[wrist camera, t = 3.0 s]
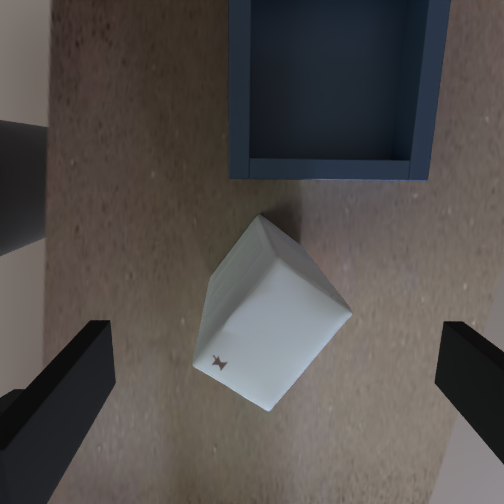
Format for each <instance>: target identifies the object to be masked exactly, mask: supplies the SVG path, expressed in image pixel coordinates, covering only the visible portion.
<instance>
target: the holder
mask: <svg viewBox="0 0 504 504" xmlns="http://www.w3.org/2000/svg"><path fill="white" fill-rule="evenodd" d="M450 3H451V0H228V27H229V179H296V180H382V181H427V180H428V174H429V166H430V158H431V150H432V143H433V135H434V127H435V119H436V112H437V104H438V96H439V88H440V81H441V73H442V65H443V57H444V49H445V42H446V34H447V26H448V18H449V11H450Z"/></svg>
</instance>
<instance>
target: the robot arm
mask: <svg viewBox="0 0 504 504" xmlns="http://www.w3.org/2000/svg"><path fill="white" fill-rule="evenodd" d="M115 383H116V381H115V369H114V357H113V346H112V334H111V323H110V320H90V321H89V322H88V323H87V324H86V325H85V327H84V328H83V329H82V330H81V331H80V332H79V333H78V334H77V335H76V336H75V337H74V338H73V339H72V340H71V341H70V342H69V343H68V345H67V346H66V347H65V348H64V349H63V350H62V351H61V352H60V353H59V354H58V355H57V356H56V357H55V358H54V359H53V360H52V361H51V362H50V364H49V365H48V366H47V367H46V368H45V369H44V370H43V371H42V372H41V373H40V374H39V375H38V376H37V377H36V378H35V379H34V380H33V381H32V383H31V384H30V385H29V386H28V387H27V388H26V389H14V390H12V391H11V392H9V393H8V394H6V395H4V396H2V397H1V398H0V504H47V503H48V501H49V499H50V497H51V496H52V494H53V492H54V490H55V489H56V487H57V485H58V483H59V482H60V480H61V478H62V476H63V475H64V473H65V471H66V469H67V468H68V466H69V464H70V462H71V461H72V459H73V457H74V455H75V454H76V452H77V450H78V448H79V447H80V445H81V443H82V441H83V440H84V438H85V436H86V434H87V433H88V431H89V429H90V427H91V426H92V424H93V422H94V420H95V419H96V417H97V415H98V413H99V412H100V410H101V408H102V406H103V404H104V403H105V401H106V399H107V397H108V396H109V394H110V392H111V390H112V389H113V387H114V385H115ZM435 384H436V385H437V386H438V387H439V389H440V390H441V391H442V392H443V393H444V395H445V396H446V397H447V398H448V399H449V400H450V402H451V403H452V404H453V405H454V406H455V408H456V409H457V410H458V411H459V412H460V413H461V415H462V416H463V417H464V418H465V419H466V420H467V422H468V423H469V424H470V425H471V426H472V427H473V429H474V430H475V431H476V432H477V433H478V435H479V436H480V437H481V438H482V439H483V440H484V442H485V443H486V444H487V445H488V446H489V448H490V449H491V450H492V451H493V452H494V453H495V455H496V456H497V457H498V458H499V459H500V460H501V462H502V463H503V464H504V352H503V351H502V350H500V349H499V348H498V347H496V346H495V345H494V344H492V343H491V342H490V341H488V340H487V339H486V338H484V337H483V336H482V335H480V334H479V333H478V332H476V331H475V330H474V329H472V328H471V327H469V326H468V325H467V324H465V323H464V322H463V321H444V323H443V330H442V336H441V343H440V350H439V356H438V363H437V370H436V376H435Z"/></svg>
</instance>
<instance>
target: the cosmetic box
mask: <svg viewBox="0 0 504 504" xmlns="http://www.w3.org/2000/svg"><path fill="white" fill-rule="evenodd" d="M351 315H352V310H351V308H350V307H349V306H348V304H347V303H346V302H345V300H344V299H343V298H342V297H341V295H340V294H339V293H338V292H337V290H336V289H335V288H334V286H333V285H332V284H331V282H330V281H329V280H328V279H327V277H326V276H325V275H324V274H323V272H322V271H321V270H320V268H319V267H318V266H317V264H316V263H315V262H314V261H313V259H312V258H311V257H310V255H309V254H308V253H307V252H306V250H305V249H304V248H303V246H301V245H300V244H298V243H297V242H296V241H295V240H293V239H292V238H291V237H289V236H288V235H287V234H285V233H284V232H283V231H282V230H280V229H279V228H278V227H276V226H275V225H274V224H273V223H271V222H270V221H269V220H267V219H266V218H265V217H263V216H262V215H260V214H258V215H257V216H256V217H255V219H254V220H253V221H252V223H251V224H250V225H249V227H248V228H247V229H246V230H245V232H244V233H243V234H242V236H241V237H240V238H239V240H238V241H237V242H236V244H235V245H234V246H233V248H232V249H231V250H230V252H229V253H228V254H227V255H226V257H225V258H224V259H223V261H222V262H221V263H220V265H219V266H218V267H217V269H216V270H215V271H214V273H213V274H212V275H211V277H210V280H209V285H208V290H207V294H206V300H205V304H204V309H203V314H202V318H201V323H200V328H199V333H198V337H197V342H196V346H195V351H194V357H193V362H192V365H193V366H194V367H195V368H197V369H199V370H201V371H202V372H204V373H206V374H207V375H209V376H211V377H212V378H214V379H216V380H217V381H219V382H221V383H222V384H224V385H226V386H227V387H229V388H231V389H232V390H234V391H235V392H237V393H238V394H240V395H242V396H243V397H245V398H246V399H248V400H250V401H251V402H253V403H255V404H256V405H258V406H260V407H261V408H263V409H265V410H267V411H270V410H271V409H272V408H273V407H274V405H275V404H276V403H277V402H278V401H279V400H280V398H281V397H282V396H283V395H284V394H285V393H286V391H287V390H288V389H289V388H290V387H291V386H292V384H293V383H294V382H295V381H296V380H297V378H298V377H299V376H300V375H301V374H302V372H303V371H304V370H305V369H306V368H307V366H308V365H309V364H310V363H311V362H312V360H313V359H314V358H315V357H316V356H317V354H318V353H319V352H320V351H321V350H322V348H323V347H324V346H325V345H326V344H327V343H328V341H329V340H330V339H331V338H332V337H333V335H334V334H335V333H336V332H337V331H338V330H339V328H340V327H341V326H342V325H343V324H344V323H345V321H346V320H347V319H348V318H349V317H350V316H351Z"/></svg>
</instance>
